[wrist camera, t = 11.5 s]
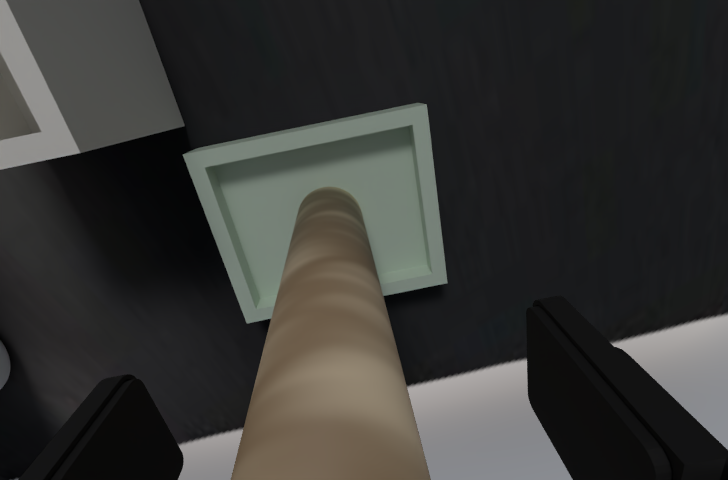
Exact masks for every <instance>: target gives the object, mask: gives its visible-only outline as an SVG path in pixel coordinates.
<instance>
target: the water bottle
mask: <svg viewBox="0 0 728 480" xmlns="http://www.w3.org/2000/svg"><path fill="white" fill-rule="evenodd" d="M9 374H10V359H9V355H8V352H7V350H6V348H5V346H4V345H3V343H2V342H1V340H0V389H1V388H2V387H3V386H4V385H5V383H6V381H7V380H8V377H9Z"/></svg>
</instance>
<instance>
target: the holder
mask: <svg viewBox="0 0 728 480" xmlns="http://www.w3.org/2000/svg"><path fill="white" fill-rule="evenodd" d="M183 126H185V125H184V122H183V119H182V117H181V114H180V111H179V108H178V106H177V103H176V100H175V97H174V95H173V92H172V89H171V87H170V84H169V81H168V78H167V76H166V73H165V70H164V67H163V65H162V62H161V59H160V57H159V54H158V51H157V48H156V46H155V43H154V40H153V37H152V35H151V32H150V29H149V27H148V24H147V21H146V18H145V16H144V13H143V10H142V7H141V5H140V2H139V0H0V169H5V168H10V167H15V166H20V165H25V164H30V163H34V162H39V161H44V160H49V159H54V158H59V157H63V156H68V155H73V154H78V153H82V152H86V151H90V150H94V149H98V148H102V147H106V146H109V145H113V144H117V143H121V142H125V141H129V140H133V139H137V138H140V137H144V136H148V135H152V134H156V133H160V132H164V131H167V130H171V129H175V128H179V127H183Z"/></svg>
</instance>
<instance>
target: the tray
mask: <svg viewBox="0 0 728 480" xmlns="http://www.w3.org/2000/svg"><path fill="white" fill-rule="evenodd" d="M183 157H184V160H185V162H186V165H187V167H188V170H189V173H190V175H191V178H192V181H193V183H194V186H195V188H196V191H197V194H198V196H199V199H200V202H201V204H202V207H203V209H204V212H205V215H206V217H207V220H208V223H209V225H210V228H211V231H212V233H213V236H214V238H215V241H216V244H217V246H218V249H219V252H220V254H221V257H222V259H223V262H224V265H225V267H226V270H227V273H228V275H229V278H230V280H231V283H232V286H233V288H234V291H235V294H236V296H237V299H238V301H239V304H240V307H241V309H242V312H243V315H244V317H245V320H246V323H251V322H256V321H261V320H266V319H271V318H272V314H273V310H274V306H275V302H276V298H277V294H278V290H279V286H280V282H281V278H282V274H283V270H284V266H285V262H286V258H287V254H288V250H289V246H290V242H291V238H292V234H293V230H294V226H295V222H296V218H297V214H298V210H299V207H300V204H301V203H302V201H303V199H304V198H305V197H306V196H307V195H308V194H309V193H311V192H312V191H314V190H316V189H318V188H322V187H337V188H341V189H343V190H345V191H347V192H349V193H350V194H351V195H352V196H353V197H354V198H355V199H356V200H357V202H358V204H359V206H360V208H361V212H362V216H363V220H364V224H365V227H366V231H367V235H368V239H369V243H370V247H371V251H372V255H373V258H374V262H375V266H376V270H377V274H378V278H379V282H380V286H381V289H382V293H383V296H386V295H391V294H396V293H401V292H406V291H411V290H416V289H421V288H426V287H431V286H436V285H440V284H445V283H447V276H446V267H445V259H444V250H443V241H442V233H441V224H440V215H439V207H438V198H437V189H436V181H435V172H434V163H433V155H432V146H431V137H430V129H429V120H428V111H427V104H422V103H415V104H410V105H405V106H400V107H395V108H390V109H385V110H381V111H376V112H371V113H366V114H361V115H356V116H351V117H347V118H342V119H337V120H332V121H327V122H322V123H317V124H313V125H308V126H303V127H298V128H293V129H288V130H283V131H279V132H274V133H269V134H264V135H259V136H254V137H249V138H245V139H240V140H235V141H230V142H225V143H220V144H215V145H211V146H206V147H201V148H197V149H194V150H192V151H190V152H187V153H185V154H183Z"/></svg>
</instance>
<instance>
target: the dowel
mask: <svg viewBox="0 0 728 480" xmlns="http://www.w3.org/2000/svg"><path fill="white" fill-rule="evenodd" d="M231 480H431V479H430V475H429V471H428V467H427V463H426V460H425V456H424V452H423V448H422V444H421V440H420V436H419V432H418V429H417V425H416V421H415V417H414V413H413V409H412V406H411V402H410V398H409V394H408V390H407V386H406V382H405V378H404V374H403V371H402V367H401V363H400V359H399V355H398V351H397V347H396V344H395V340H394V336H393V332H392V328H391V324H390V320H389V316H388V313H387V309H386V305H385V301H384V297H383V293H382V289H381V286H380V282H379V278H378V274H377V270H376V266H375V262H374V258H373V255H372V251H371V247H370V243H369V239H368V235H367V231H366V227H365V224H364V220H363V216H362V212H361V208H360V206H359V204H358V202H357V200H356V199H355V198H354V197H353V196H352V195H351V194H350V193H349V192H347V191H345V190H343V189H341V188H337V187H322V188H318V189H316V190H314V191H312V192H311V193H309V194H308V195H307V196H306V197H305V198H304V199H303V201H302V203H301V204H300V207H299V210H298V214H297V218H296V222H295V226H294V230H293V234H292V238H291V242H290V246H289V250H288V254H287V258H286V262H285V266H284V270H283V274H282V278H281V282H280V286H279V290H278V294H277V298H276V302H275V306H274V310H273V314H272V318H271V322H270V326H269V330H268V334H267V338H266V342H265V345H264V349H263V353H262V357H261V361H260V365H259V369H258V373H257V377H256V381H255V385H254V389H253V393H252V397H251V401H250V405H249V409H248V413H247V417H246V421H245V425H244V429H243V434H242V437H241V442H240V445H239V449H238V453H237V457H236V461H235V465H234V469H233V473H232V477H231Z"/></svg>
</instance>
